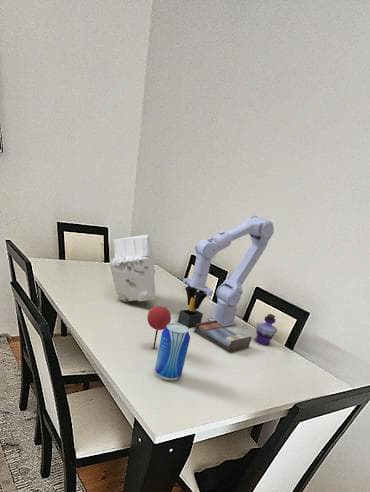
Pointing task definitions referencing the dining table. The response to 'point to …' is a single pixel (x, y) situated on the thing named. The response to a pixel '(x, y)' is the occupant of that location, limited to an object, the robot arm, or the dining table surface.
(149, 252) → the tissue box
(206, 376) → the dining table surface
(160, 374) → the beer can
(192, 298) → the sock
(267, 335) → the potion bottle
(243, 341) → the bed
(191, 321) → the bin
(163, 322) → the lollipop
